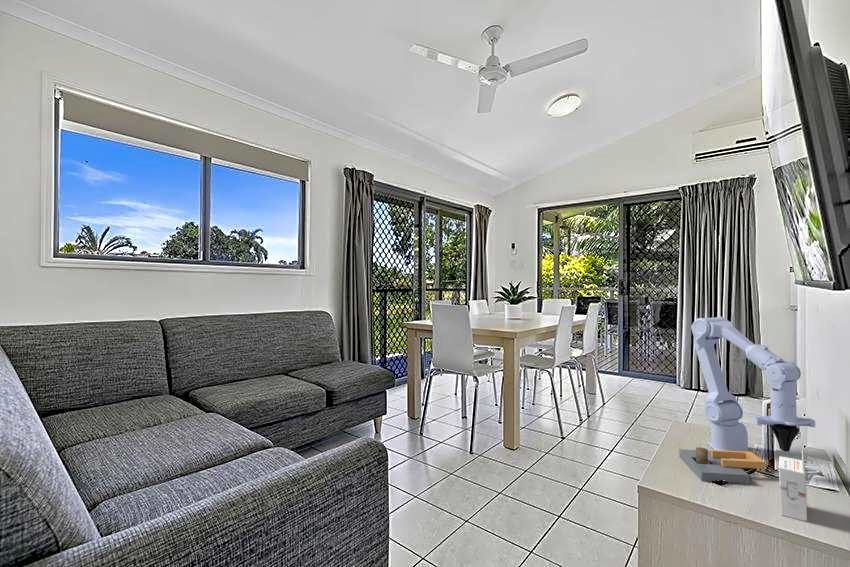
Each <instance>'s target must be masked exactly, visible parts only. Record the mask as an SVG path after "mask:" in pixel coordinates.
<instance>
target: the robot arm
mask: <svg viewBox="0 0 850 567" xmlns="http://www.w3.org/2000/svg"><path fill="white" fill-rule="evenodd" d="M690 328H691V331H692V335H693V345H694V348H695V351H696V355H697V358H698V361H699V364H700V369H701V371H702V375H703V379H704V382H705V385H706V388H707V392H708V395H707V396H706V397H705V398H704V401H703V402H704V407H705V408H704V414H705V416H706V418H707V419H708V420H709V422H710V429H711V431H710V435H711V437H710V438H711V441H706V444H707V445H708V446H709V447H710V448H712V450H727V451H748V452H749V437H748V430H747V428H746V426H745V424H744V423H742V422H740V420H742V418H743V415H744V410H743V408H742V406H741V405H740V403H739V401H738V400H737V397H736V396H735V395H734V394H732V393H730V392H729V390H728V387H727V384H726V380H725V378H724V375H723V372H722V371H723V370H722V368H721V365H720V362H719V361H720V360H719V359H718V356H717V352H716V349H715V344H716V343H717V342H718V341H719V340H720V339H722V338H723V339H725V340H726V341H729V342H730V343H731V344H733V345H735V346H736V347H737V348H739V349H740V350H742V351H743V352H744V353H745V357H746V359H747V360H749V361H750V362H751V363H753V364H754V365H755V366H757V367H758V368H759V369H760V370H762V371H763V373H764V374H763V375H764V377H765V378H766V379H767V382H768V386H769V392H770V393H769V395H770V403H769V404H770V415H765V416H761V415H760V416H753V424H755V425H756V426H762V425H764V426H769V427H770V429H771V431H772V432H773V434H774V436H775V438H776V440H777V443H778V447H779V449H780V450H781V451H783V452H790V450H791V446H792V444H793V441H794V440H795V438H796V436H798V434H799V433H800V428H799V427H810V428H816V420H814V419H812V418H808V417H807V418H806V417H798V416H797V415H798V414H797V384H796V383H797V381H798V380H799V379H801V375H802V372H801V369H800V367H799V366H798V365H797V364H796V363H795V361H794V362H793V361H791V360H784V359H783V358H782V357H781V356H778V355H777V354H775V353H774V352H772V351H771V350H769V347H768V346H767V345H765V344H759V343H758V344H755V343H753V342H752V340H750V339H749V338H748V337H746V336H745V335H744V334H743V333H741V332H740V331H739V330H738V329H736V327H734V325H733V322H732V321H730V320H728V319H727V318H725V317H724V316H716V317H698V318H696V319H695V320H694V321H693V322H692V325H691V326H690Z"/></svg>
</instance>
